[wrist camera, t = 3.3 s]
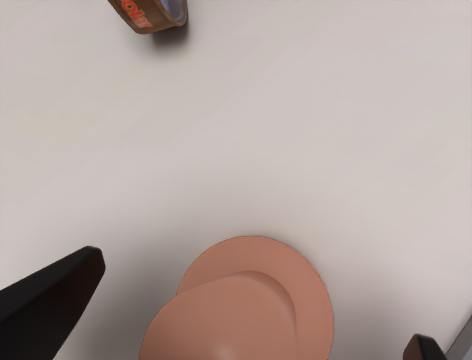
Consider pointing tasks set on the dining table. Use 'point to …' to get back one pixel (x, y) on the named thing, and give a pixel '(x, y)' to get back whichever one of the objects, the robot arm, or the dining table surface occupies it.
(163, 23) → the tin
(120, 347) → the dining table surface
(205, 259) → the pink flanged peg
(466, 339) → the station board
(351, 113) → the dining table surface
